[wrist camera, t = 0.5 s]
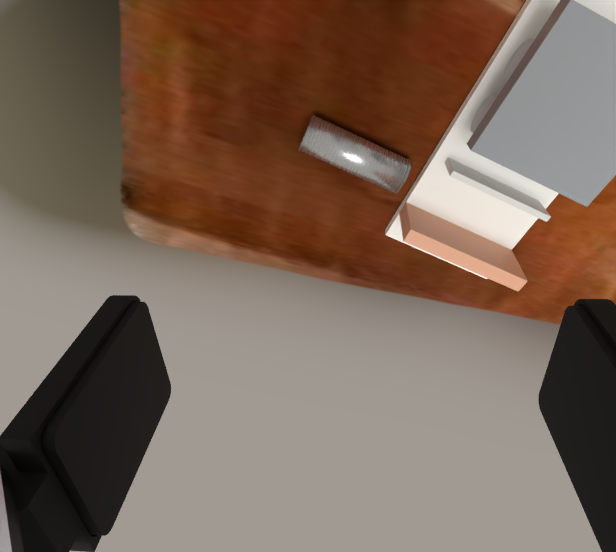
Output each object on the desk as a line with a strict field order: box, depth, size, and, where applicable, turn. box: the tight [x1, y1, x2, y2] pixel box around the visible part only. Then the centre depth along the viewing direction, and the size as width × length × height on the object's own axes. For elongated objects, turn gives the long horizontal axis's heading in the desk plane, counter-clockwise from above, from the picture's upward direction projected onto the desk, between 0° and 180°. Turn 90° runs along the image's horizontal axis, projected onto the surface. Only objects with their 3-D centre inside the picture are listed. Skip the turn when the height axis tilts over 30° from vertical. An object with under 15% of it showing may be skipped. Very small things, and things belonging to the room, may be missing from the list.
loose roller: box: [298, 115, 412, 194], centre depth 38 cm, size 3×9×3 cm, turn 67°
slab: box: [467, 0, 616, 207], centre depth 31 cm, size 10×10×2 cm
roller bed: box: [385, 0, 616, 291], centre depth 34 cm, size 28×11×6 cm, turn 157°
